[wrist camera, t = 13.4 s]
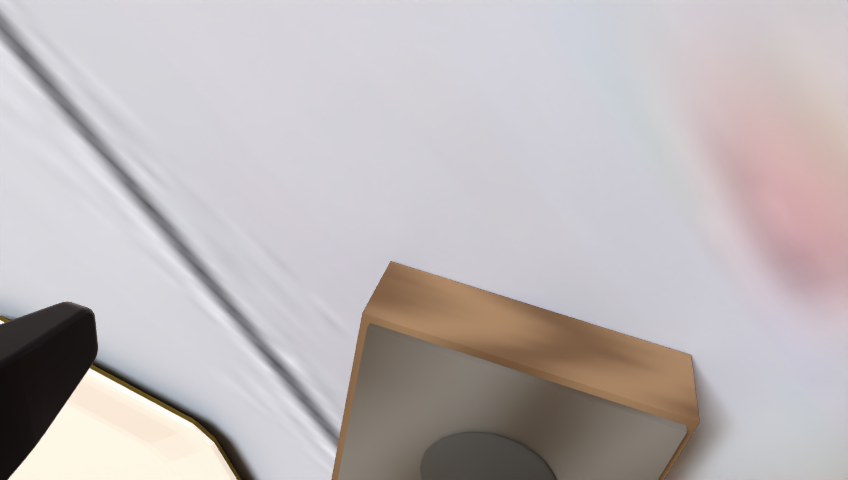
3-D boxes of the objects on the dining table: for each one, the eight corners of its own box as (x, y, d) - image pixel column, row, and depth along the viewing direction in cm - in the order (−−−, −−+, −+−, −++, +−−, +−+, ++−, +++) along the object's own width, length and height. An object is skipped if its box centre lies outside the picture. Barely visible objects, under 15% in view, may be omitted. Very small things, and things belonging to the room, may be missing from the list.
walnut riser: (691, 354, 23) (700, 429, 20) (588, 537, 29) (584, 614, 26) (390, 261, 24) (359, 318, 22) (351, 455, 30) (322, 520, 28)
